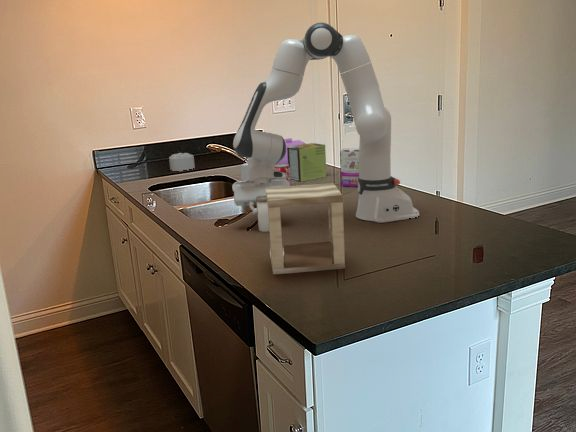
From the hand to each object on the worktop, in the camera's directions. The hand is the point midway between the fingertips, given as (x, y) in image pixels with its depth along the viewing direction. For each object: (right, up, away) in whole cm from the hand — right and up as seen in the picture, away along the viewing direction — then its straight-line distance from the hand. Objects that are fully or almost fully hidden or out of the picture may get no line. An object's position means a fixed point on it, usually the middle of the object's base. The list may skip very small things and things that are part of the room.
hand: (264, 213), depth 201 cm
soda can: (+6, +8, +49) cm, 50 cm away
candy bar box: (+37, +12, +58) cm, 70 cm away
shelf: (+13, -14, -30) cm, 35 cm away
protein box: (+17, +17, +80) cm, 83 cm away
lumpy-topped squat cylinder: (-49, +24, +119) cm, 132 cm away
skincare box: (-9, +10, +62) cm, 63 cm away
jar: (0, -6, +2) cm, 6 cm away
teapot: (+9, +27, +117) cm, 120 cm away
